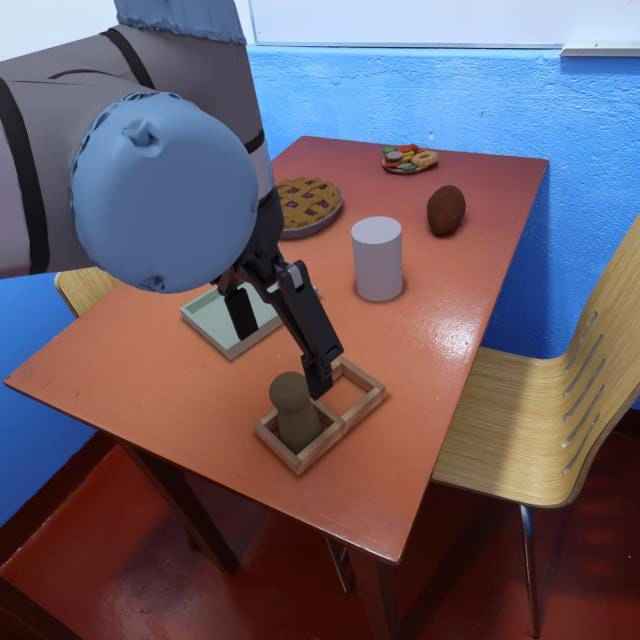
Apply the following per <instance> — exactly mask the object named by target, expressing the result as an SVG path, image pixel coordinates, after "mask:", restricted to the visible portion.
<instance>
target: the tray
mask: <svg viewBox="0 0 640 640" xmlns="http://www.w3.org/2000/svg"><path fill="white" fill-rule="evenodd" d="M244 282H245V281H244ZM277 283H278V282H277ZM277 283H276V284H274V285H273V286H271V287H270V288H268V289H267V291H268V292H270V293H271V292H273V291H275V290H276V289H278V287H277ZM312 286H313V288H314V290H315V292H316V294H317V296H318V298H319V299H320V296H319V291H318V290H319V289H318V287H317V286H315V285H313V284H312ZM217 287H218V286H217V285H214V286H212V288H210V289H208V290H207V291H205V292H204V293H201V294H200V295H198V296H197V297H195V298H194V299H192V300H190V301H188V302H187V303H185V304H184V305H182V306H180V307H179V308H178V309H179V313H180V314H181V316H182V319H183V321H185V322H187V324H189V325H190V326H191V327H192V328H193V329H194V330H195V331H197V333H198V334H200V335H201V336H202V337H204V339H206V340H207V341H208V342H209V343H210V344H211V345H212V346H213V347H215V348H216V350H218V351H219V352H221V354H223V355H224V357H226V358H227V359H228V360H229V361H232V360H234V359H236V358H237V357H238V356H239V355H241V354H242V353H244V352H245V351H247V350H248V349H250V348H251V347H252V346H254V345H255V344H257V343H258V342H260V341H261V340H262V339H264V338H265V337H266V336H268V335H270V334H271V333H272V332H274V331H275V330H276V329H278V328H279V327H281V326H282V325H284V323H283V322H282V320H281V319H280V317H279V316H278V314H277V313H276V311H275V310H274V308H273V307H272V305H271V304H266V303H264V302H263V301H262V299H261V298H260V296H259V295H258V293H257V292H256V290H255V289H254V287H253V286H252V285H251V284H250V283H247V282H245V283H243V284H242V285H240V286H239V287H237V288H238V289H240V288H242V287H243V288H245V289H246V291H247V294H248V297H249V300H250V303H251V306H252V309H253V312H254V315H255V318H256V321H257V324H258V327H259V330H257V331H256V332H254V333H253V334H252V335H250V336H249V337H247V338H246V339H244V340H243V341H241V340H240V339H238V336H237V334H236V331H235V328H234V326H233V323H232V320H231V318H230V315H229V312H228V310H227V307H226V304H225V302H224V298H225V297H224V296H221V295H220V294H219V293H218V290H217Z"/></svg>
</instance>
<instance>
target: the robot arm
mask: <svg viewBox="0 0 640 640" xmlns="http://www.w3.org/2000/svg"><path fill="white" fill-rule="evenodd" d="M113 4H114V8H115V10H116V16H115V17H116V20H117V23H118V24H116V25H113V26H111V27H108V28H107V30H104V31H101V32H98V33H97V34H94V35H91V36H87V37H84V38H80V39H76V40H72V41H69V42H66V43H62V44H59V45H55V46H51V47H47V48H44V49H40V50H37V51H33V52H29V53H25V54H21V55H19V56H15V57H11V58H8V59H4V60H1V61H0V281H2V280H8V279H15V278H22V277H29V276H35V275H42V274H53V273H63V272H71V271H76V270H83V269H91V268H98V269H99V270H100V271H102V272H106V273H108V274H109V275H110V276H111V277H113V278H114V279H117V280H119V282H121V283H124V284H126V285H128V286H131V287H132V288H135V289H138V290H139V291H144V292H150V293H156V294H157V293H158V294H161V295H173V294H174V295H175V294H182V293H187V292H190V291H193V290H196V289H198V288H201V287H204V286H206V285H207V284H210V286H212V287H215V286H218V287H217V290H218V293H219V294H220V295H221V296H224V297H225V298H224V302H225V304H226V307H227V310H228V312H229V315H230V318H231V320H232V323H233V326H234V328H235V331H236V334H237V336H238V339H240V340H241V341H243V340H244V339H246V338H247V337H249V336H250V335H252V334H253V333H254V332H256V331H257V330H259V327H258V324H257V321H256V318H255V315H254V312H253V309H252V306H251V303H250V300H249V297H248V294H247V291H246V289H245V288H243V287H242V288H240V289H238V288H237V287H239V286H240V285H242V284H243V283H245V282H247V283H250V284H251V285H252V286H253V287H254V289H255V290H256V292H257V293H258V295H259V296H260V298H261V299H262V301H263V302H264V303H266V304H271V305H272V307H273V308H274V310H275V311H276V313H277V314H278V316H279V317H280V319H281V320H282V322H283V323H284V324H283V325H284V327H285V328H286V330H287V331H288V333H289V334H290V335H291V337H292V338H293V340H294V341H295V343H296V344H297V346H298V348H299V349H300V350H301V352H302V353H303V354H302V355H300V363H301V366H302V369H303V374H304V376H305V378H306V381H307V385H308V389H309V393H310V397H311V398H312V399H313V400H314V401H316V400H319V399H320V398H321V397H322V396H324V395H325V394H326V393H328V392H329V391H330V390H331V389H332V388H333V387H334V381H333V380H332V367H331V364H332V363H333V362H334V361H336V360H337V359H338V358H339V357H341V356H342V354H345V348H344V346H343V344H342V343H341V342H342V341H341V340H340V338H339V336H338V334H337V333H336V330H335V328H334V326H333V325H332V322H331V319H330V318H329V316H328V314H327V312H326V311H325V308H324V306H323V304H322V302H321V300H320V297H319V298H318V296H317V294H316V292H315V290H314V288H313V286H314V285H313V284H312V281H311V277H310V274H309V271H308V267H307V265H306V263H305V262H304V260H302V259H298V260H295V262H293V263H290V262H287V261H286V260H285V258H284V256H283V254H282V251H281V249H280V247H279V241H280V239H281V238H280V236H281V233H282V231H283V229H284V225H285V220H284V215H283V211H282V206H281V202H280V198H279V193H278V190H277V188H276V187H275V186H274V184H276V179H275V175H274V169H273V165H272V162H271V158H270V157H271V156H270V153H269V149H268V146H269V145H268V140H267V139H266V133H265V129H264V125H263V120H262V115H261V110H260V105H259V100H258V96H257V93H256V87H255V82H254V78H253V73H252V69H251V64H250V59H249V54H248V50H247V46H248V39H247V37H246V36H245V34H244V30H243V27H242V23H241V19H240V16H239V12H238V9H237V5H236V2H235V0H113ZM244 281H245V282H244ZM277 282H278V283H277ZM276 283H277V287H278V289H276V290H275V291H273V292H271V293H270V292H268V291H267V289H268V288H270V287H271V286H273V285H274V284H276ZM312 285H313V286H312Z"/></svg>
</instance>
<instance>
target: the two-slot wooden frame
mask: <svg viewBox="0 0 640 640" xmlns="http://www.w3.org/2000/svg"><path fill="white" fill-rule="evenodd" d="M331 367H332V380H333V382H335V381H336V380H337V379H339V377H341V376H342V375H344V376H346V377H347V378H349V380H351V381H353V383H355V384H357V385H358V386H359V387H361V388H362V389H363V390H365V391H367V392H368V393H367V394H365V396H363V397H362V398H361V399H360V400H359V401H358V402H356V403H355V404H354V405H353V406H351V408H349V409H348V411H346V412H345V413H344V414H342V415H341V417H340V416H339V415H338V414H337V413H336V412H334V411H333V410H332V409H331V408H330V407H328V406H327V405H326V404H324V403H323V402H322V401H321V400H319V399H318V400H316V401H314V400H313V399H312V398H311V397H310V400H311V402H312V405H313V407H314V409H315V411H316V413H317V415H318V417H319V419H320V420H322V421H323V422H324V423H325V424H326V425H327V426H328V428H326V429H325V430H324V432H323V433H322V434H321V435H320V436H319V437H317V438H316V439H315V440H314V441H313V442H312V443H310V444H309V445H308V446H307V447H306V448H305V449H304V450H302V451H301V452H300V453H297V455H296V454H295V453H293V452H291V451H290V450H289V449H288V448H287V447H286V446H285V445H284V444H283V443H282V442H281V439H279V438H278V437H277V436H276V435H275V434H274V433H273V431H275V430H276V429H277V428H279V420H278V411H277V408H275V407H274V409H273V410H271V411H270V412H269V413H267V414H266V415H264V417H263V418H261V419H259V420H258V421H257V422H256V423H255V424H254V425H253V427H254V429H255V432H256V435H257V436H258V437H259V438H260V440H262V441H263V442H264V443H265V445H267V446H268V448H269V449H270V450H272V451H273V452H274V453H275V454H276V456H278V457H279V458H280V459H281V460H282V461H283V462H284V463H285V465H287V466H288V467H289V468H290V469H291V470H292V471H293V472H294V473H295V474H296V475H297V476H298V477H299V476H300V475H301V474H302V473H303V472H304V471H306V470H307V469H308V468H309V467H310V466H311V465H312V464H314V463H315V462H316V461H317V460H318V459H320V457H321V456H323V455H324V454H325V453H326V452H327V451H328V450H330V449H331V447H333V446H334V445H335V444H336V443H337V442H339V440H340V439H342V438H343V437H344V436H345V435H346V434H347V433H348V432H349V431H351V429H353V428H354V427H355V426H356V425H357V424H359V423H360V421H362V419H364V418H365V417H366V416H367V415H368V414H369V413H370V412H372V411H373V410H374V409H375V408H376V407H377V406H379V404H381V403H382V402H383V401H384V400H385V399H386V398H387V389H386V385H384V384H383V383H381V382H380V381H378V380H377V379H376V378H374V377H373V376H371V375H370V374H368V373H367V372H366V371H364V370H362V369H361V368H360V367H358V366H357V365H355V364H354V363H352V362H351V361H350V360H349V359H347V358H346V357H344V356H343V355H340V356H339V357H337V358H336V359H335V360H334V361H332V362H331Z"/></svg>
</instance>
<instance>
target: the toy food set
mask: <svg viewBox="0 0 640 640" xmlns="http://www.w3.org/2000/svg"><path fill="white" fill-rule="evenodd" d="M381 152H382V154H383V155H384V156H383V158H382V159H381V164H382V166H383V167H384V168H385V169H386V170H387V171H389V172H391V173H394V174H401V175H408V174H409V175H411V174H415V173H419V172H422V171H424V170H426V169H427V168H429V167H430V166H431V165H433V164H435V163H436V162H438V161H439V159H440V157H439V156H440V155H439V154H438V152H437V151H433V150H427V149H424V148H420V147H419V146H418V145H417V144H416V143H410V144H401V145H399V146H396V147H395V146H385V147H383V148H382V149H381Z"/></svg>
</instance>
